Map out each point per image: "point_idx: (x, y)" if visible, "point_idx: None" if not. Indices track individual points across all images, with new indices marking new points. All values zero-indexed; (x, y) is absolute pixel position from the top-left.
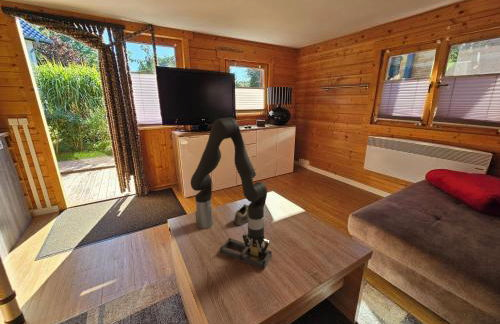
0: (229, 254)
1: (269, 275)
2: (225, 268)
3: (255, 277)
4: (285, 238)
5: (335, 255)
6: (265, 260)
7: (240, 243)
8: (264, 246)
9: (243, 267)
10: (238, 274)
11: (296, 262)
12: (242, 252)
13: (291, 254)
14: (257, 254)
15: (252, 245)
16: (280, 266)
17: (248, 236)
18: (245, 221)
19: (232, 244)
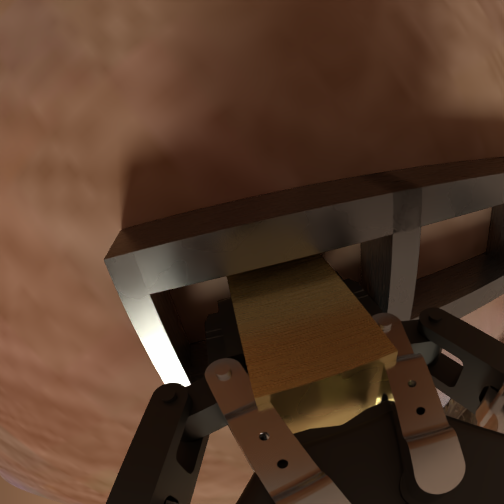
0: (474, 167)
1: (45, 205)
2: (418, 36)
3: (122, 90)
4: (219, 473)
5: (18, 462)
6: (132, 306)
7: (456, 305)
8: (159, 474)
9: (308, 116)
10: (291, 20)
11: (43, 399)
12: (414, 237)
13: (106, 429)
14: (245, 313)
15: (371, 376)
16: (62, 333)
17: (502, 449)
18: (450, 413)
19: (483, 265)
